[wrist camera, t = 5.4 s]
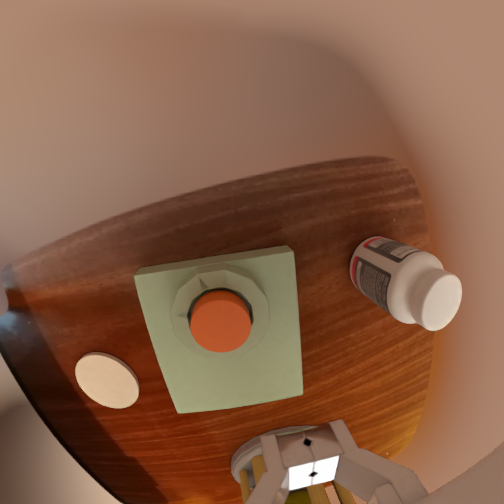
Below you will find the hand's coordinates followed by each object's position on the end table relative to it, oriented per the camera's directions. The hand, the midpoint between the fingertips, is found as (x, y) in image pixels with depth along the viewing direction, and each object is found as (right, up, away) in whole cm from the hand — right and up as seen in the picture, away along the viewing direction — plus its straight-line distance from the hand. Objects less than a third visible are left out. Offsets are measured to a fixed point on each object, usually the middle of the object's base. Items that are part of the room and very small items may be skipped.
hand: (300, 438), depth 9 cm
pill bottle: (+9, +6, +16) cm, 19 cm away
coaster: (-16, -6, +16) cm, 23 cm away
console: (-4, 0, +16) cm, 16 cm away
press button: (-4, +2, +11) cm, 12 cm away
